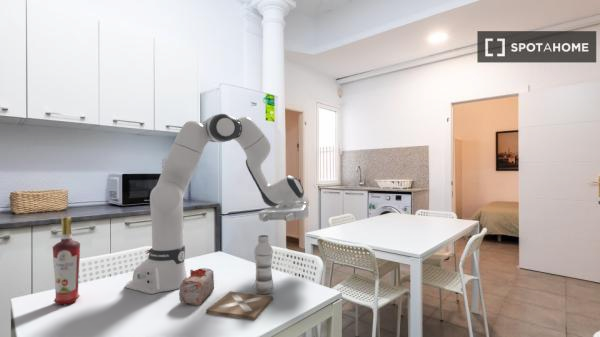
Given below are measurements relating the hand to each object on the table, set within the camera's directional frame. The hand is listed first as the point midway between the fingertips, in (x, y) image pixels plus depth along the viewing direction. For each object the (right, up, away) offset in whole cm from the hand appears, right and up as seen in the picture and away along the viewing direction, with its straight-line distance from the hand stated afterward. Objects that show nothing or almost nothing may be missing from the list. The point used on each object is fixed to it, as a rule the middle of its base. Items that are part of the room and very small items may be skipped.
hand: (274, 219), depth 121 cm
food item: (-25, -25, -14) cm, 38 cm away
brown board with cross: (-9, -24, -20) cm, 33 cm away
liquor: (-67, -25, -17) cm, 74 cm away
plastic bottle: (-3, -24, -10) cm, 27 cm away
